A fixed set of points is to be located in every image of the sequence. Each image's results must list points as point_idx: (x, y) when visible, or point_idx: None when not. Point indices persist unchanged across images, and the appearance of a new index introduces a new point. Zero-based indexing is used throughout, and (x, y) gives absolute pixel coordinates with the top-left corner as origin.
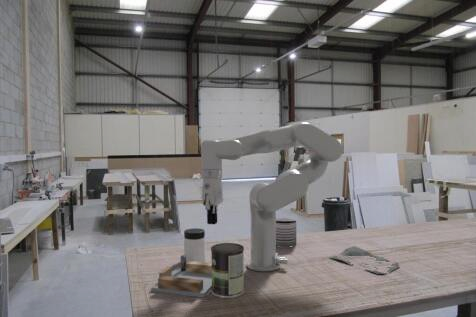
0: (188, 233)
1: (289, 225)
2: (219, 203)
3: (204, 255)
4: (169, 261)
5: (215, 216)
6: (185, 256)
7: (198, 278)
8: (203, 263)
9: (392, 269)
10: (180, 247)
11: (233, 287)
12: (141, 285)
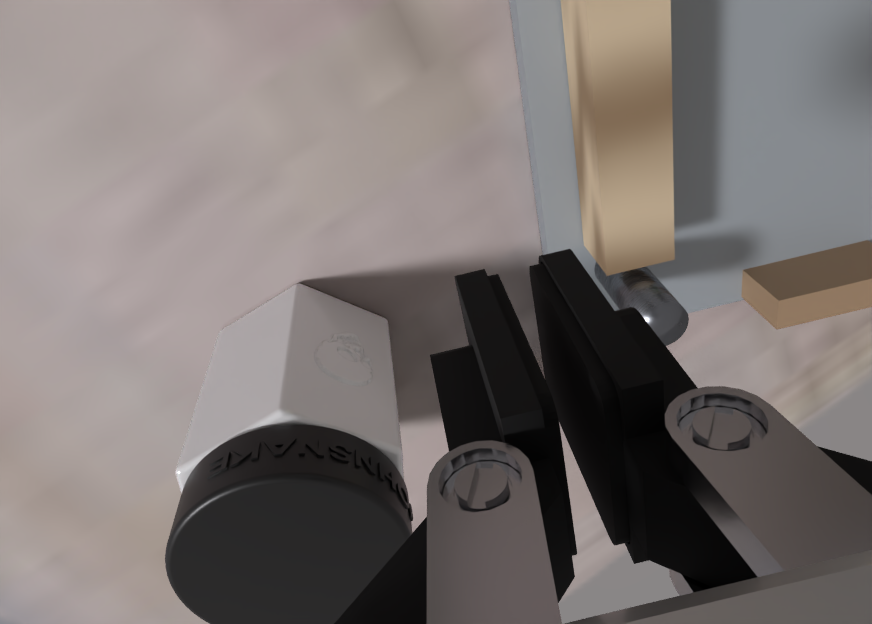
0: None
1: None
2: (708, 612)
3: (256, 324)
4: (423, 478)
5: (625, 331)
6: (670, 303)
7: (751, 50)
8: (630, 120)
9: None
10: (122, 602)
11: None
12: (860, 342)
